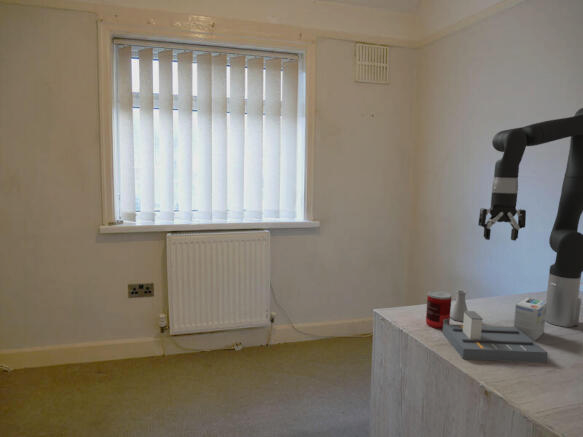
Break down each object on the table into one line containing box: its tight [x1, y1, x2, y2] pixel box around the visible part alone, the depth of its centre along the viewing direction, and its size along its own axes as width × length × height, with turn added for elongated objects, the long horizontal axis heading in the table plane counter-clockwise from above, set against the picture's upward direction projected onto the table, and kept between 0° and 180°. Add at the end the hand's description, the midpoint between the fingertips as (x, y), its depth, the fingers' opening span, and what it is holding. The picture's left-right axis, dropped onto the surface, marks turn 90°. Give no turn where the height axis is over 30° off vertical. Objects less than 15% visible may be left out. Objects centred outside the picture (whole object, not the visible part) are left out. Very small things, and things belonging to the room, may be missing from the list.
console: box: [441, 323, 548, 364], centre depth 122 cm, size 23×18×4 cm
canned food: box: [425, 290, 452, 330], centre depth 138 cm, size 8×8×11 cm
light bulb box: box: [513, 297, 547, 342], centre depth 131 cm, size 11×7×11 cm, turn 134°
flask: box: [450, 289, 469, 322], centre depth 144 cm, size 7×7×10 cm
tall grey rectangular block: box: [462, 310, 484, 340], centre depth 121 cm, size 3×6×7 cm, turn 177°
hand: (500, 239), depth 135 cm, fingers open, 8 cm apart
